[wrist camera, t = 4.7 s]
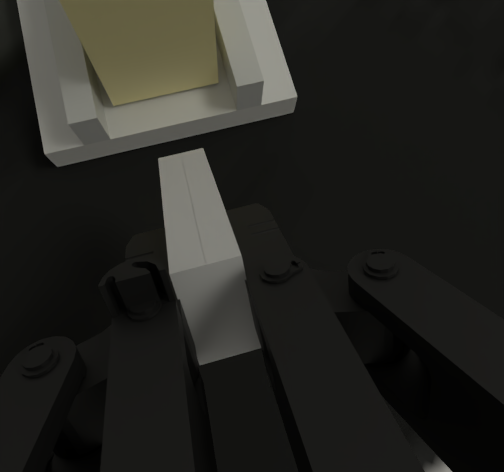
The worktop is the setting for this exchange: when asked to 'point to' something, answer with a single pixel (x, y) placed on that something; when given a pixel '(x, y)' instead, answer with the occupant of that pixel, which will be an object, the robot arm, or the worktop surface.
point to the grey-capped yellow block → (147, 45)
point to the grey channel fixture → (156, 108)
